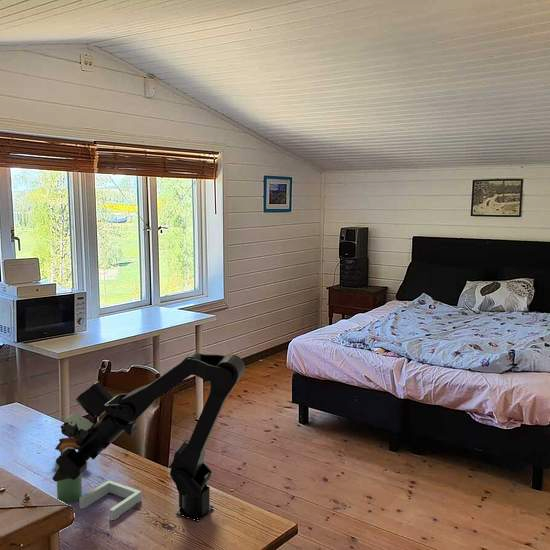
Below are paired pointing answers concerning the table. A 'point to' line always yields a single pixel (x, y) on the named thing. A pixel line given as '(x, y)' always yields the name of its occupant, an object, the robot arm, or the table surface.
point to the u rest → (115, 488)
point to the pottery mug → (67, 444)
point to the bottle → (69, 487)
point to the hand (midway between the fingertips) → (63, 470)
